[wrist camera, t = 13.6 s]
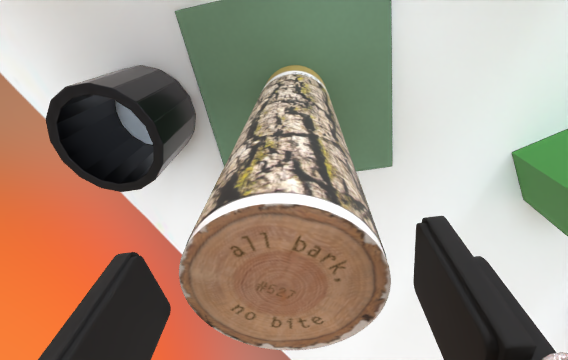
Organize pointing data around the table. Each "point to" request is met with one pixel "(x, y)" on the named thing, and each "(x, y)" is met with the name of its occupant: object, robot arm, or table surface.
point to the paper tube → (287, 229)
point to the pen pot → (120, 126)
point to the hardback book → (546, 177)
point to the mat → (296, 51)
